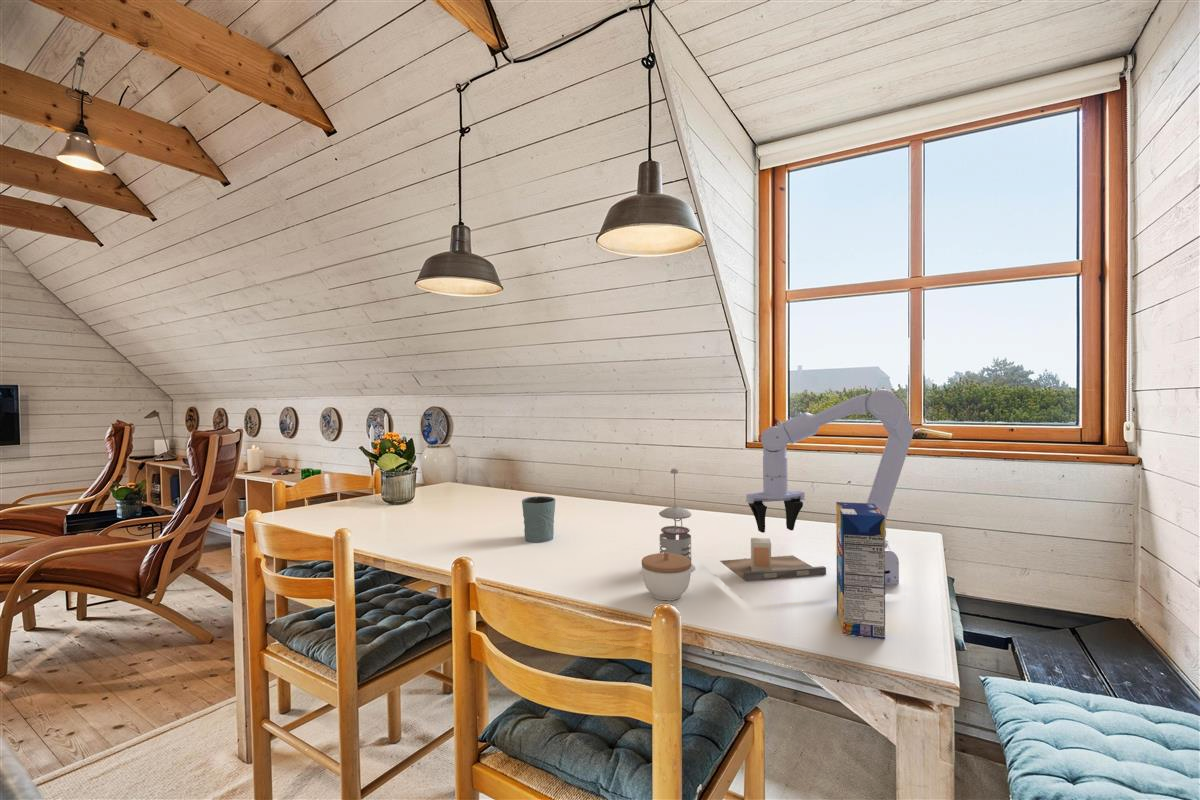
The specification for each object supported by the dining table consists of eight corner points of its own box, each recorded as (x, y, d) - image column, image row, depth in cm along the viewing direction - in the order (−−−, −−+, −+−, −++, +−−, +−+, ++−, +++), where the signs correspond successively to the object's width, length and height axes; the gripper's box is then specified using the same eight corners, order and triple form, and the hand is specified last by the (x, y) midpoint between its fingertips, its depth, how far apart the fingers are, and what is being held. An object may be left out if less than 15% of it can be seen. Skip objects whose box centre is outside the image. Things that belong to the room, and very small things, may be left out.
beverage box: (843, 635, 100) (842, 514, 100) (836, 611, 111) (836, 501, 110) (885, 639, 98) (884, 516, 98) (874, 615, 109) (874, 503, 108)
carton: (751, 566, 136) (750, 537, 136) (769, 567, 135) (769, 538, 135) (752, 572, 131) (751, 542, 131) (771, 573, 130) (771, 543, 130)
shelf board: (826, 579, 129) (826, 567, 129) (745, 586, 125) (745, 574, 125) (792, 559, 144) (792, 549, 144) (719, 565, 140) (719, 554, 140)
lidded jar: (672, 609, 113) (671, 563, 113) (631, 596, 120) (631, 553, 120) (701, 594, 121) (700, 551, 121) (661, 583, 128) (661, 543, 128)
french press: (652, 572, 136) (651, 470, 135) (660, 558, 147) (659, 464, 146) (693, 575, 133) (692, 471, 132) (698, 561, 144) (696, 465, 144)
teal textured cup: (547, 532, 175) (546, 494, 174) (561, 540, 166) (561, 500, 166) (517, 537, 169) (516, 498, 169) (530, 545, 161) (529, 504, 160)
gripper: (793, 471, 141) (794, 524, 142) (740, 474, 139) (741, 528, 139) (809, 475, 134) (809, 531, 135) (753, 478, 132) (754, 535, 132)
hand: (775, 530), depth 136 cm, fingers open, 7 cm apart
